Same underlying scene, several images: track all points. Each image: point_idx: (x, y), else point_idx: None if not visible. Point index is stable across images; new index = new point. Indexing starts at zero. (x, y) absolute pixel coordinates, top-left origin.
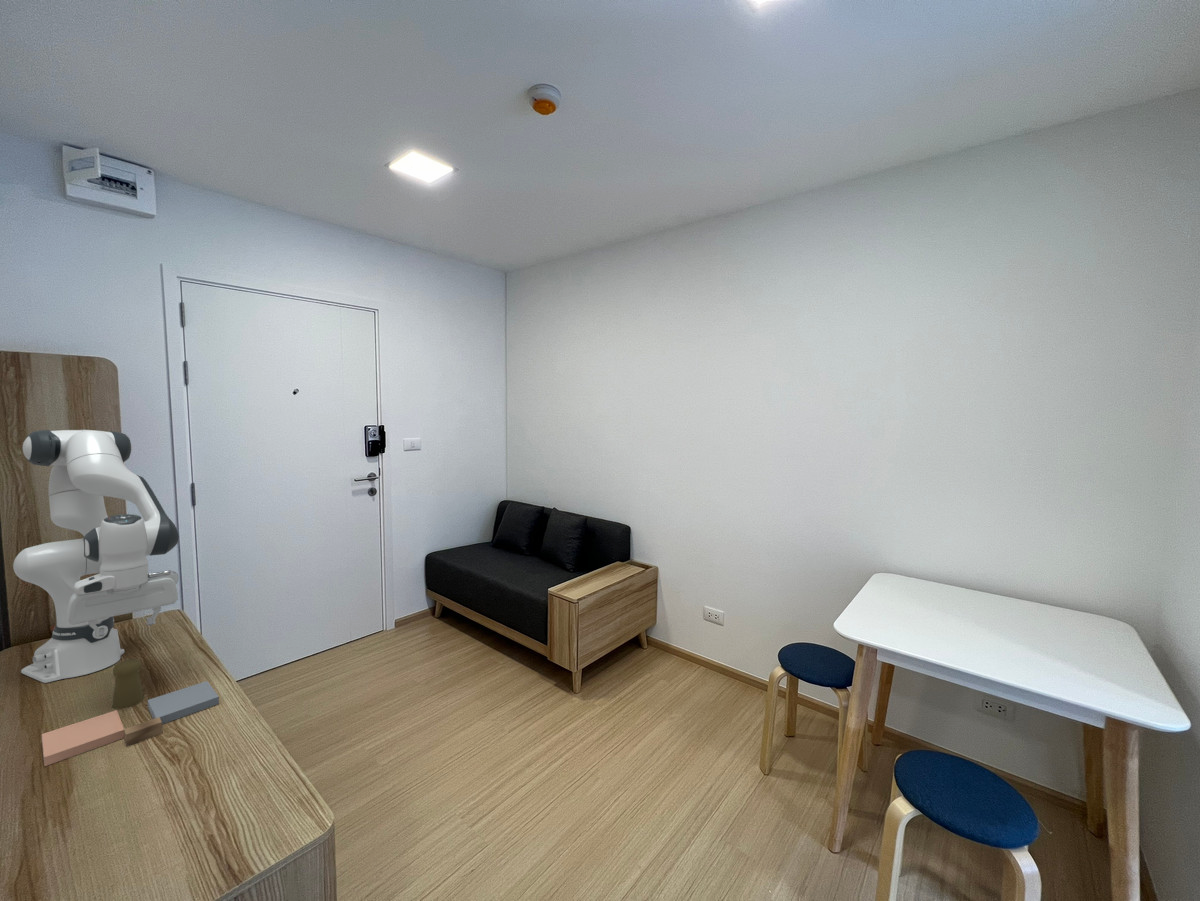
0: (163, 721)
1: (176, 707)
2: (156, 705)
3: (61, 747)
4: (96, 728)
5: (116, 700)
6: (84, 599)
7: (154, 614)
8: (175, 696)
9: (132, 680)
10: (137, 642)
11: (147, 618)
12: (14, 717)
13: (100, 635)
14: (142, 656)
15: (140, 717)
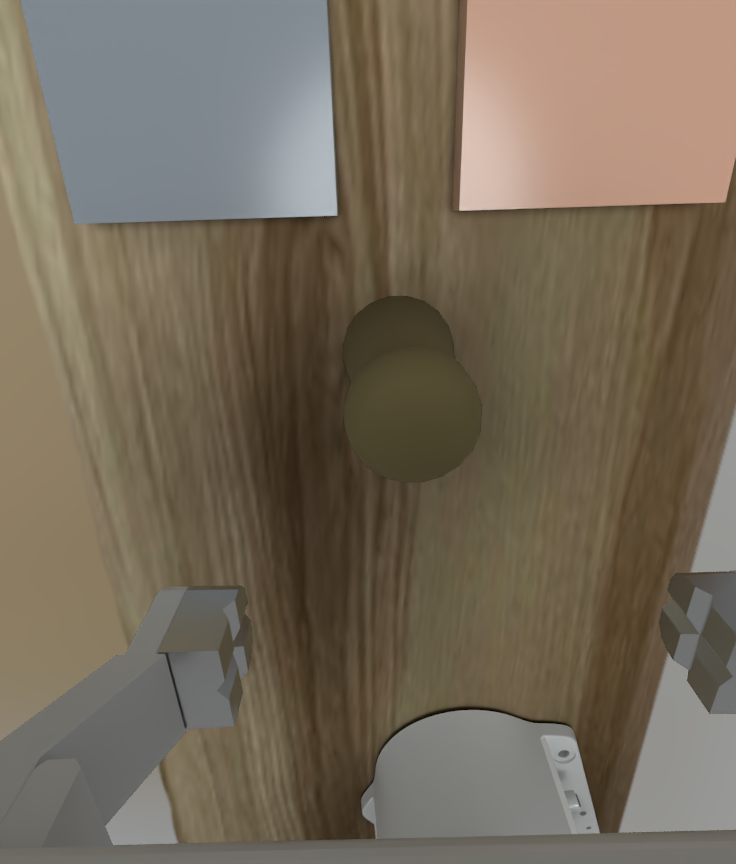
0: None
1: None
2: (307, 87)
3: None
4: (565, 27)
5: (445, 333)
6: None
7: (110, 709)
8: (219, 134)
9: (389, 345)
10: None
11: (226, 693)
12: (689, 532)
13: (724, 574)
14: (317, 738)
15: (375, 114)
